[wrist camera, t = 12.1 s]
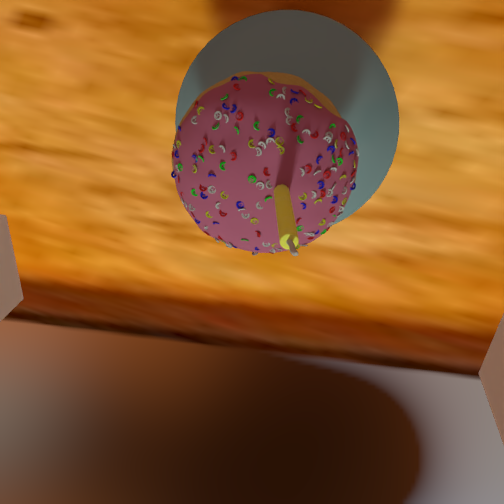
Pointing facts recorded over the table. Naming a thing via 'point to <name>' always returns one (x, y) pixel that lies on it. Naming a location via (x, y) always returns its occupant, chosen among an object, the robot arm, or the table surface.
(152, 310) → the table surface
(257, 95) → the cupcake
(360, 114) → the cake stand
